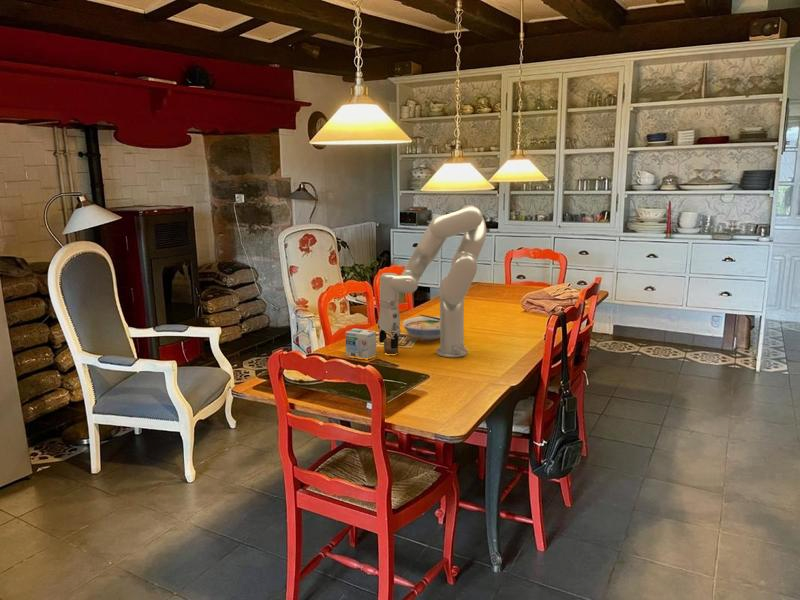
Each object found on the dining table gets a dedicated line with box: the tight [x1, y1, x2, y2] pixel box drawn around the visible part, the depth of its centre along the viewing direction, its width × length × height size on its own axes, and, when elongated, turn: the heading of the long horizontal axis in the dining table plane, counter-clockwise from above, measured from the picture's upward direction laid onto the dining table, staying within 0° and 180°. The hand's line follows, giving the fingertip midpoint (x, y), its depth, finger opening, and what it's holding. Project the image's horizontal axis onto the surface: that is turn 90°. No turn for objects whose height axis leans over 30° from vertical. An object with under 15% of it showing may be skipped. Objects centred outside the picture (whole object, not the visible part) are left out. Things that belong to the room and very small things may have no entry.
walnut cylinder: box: [383, 337, 399, 354], centre depth 240 cm, size 6×6×6 cm
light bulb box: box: [344, 327, 377, 358], centre depth 236 cm, size 11×7×11 cm, turn 62°
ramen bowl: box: [402, 314, 440, 341], centre depth 261 cm, size 25×23×8 cm
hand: (388, 345), depth 240 cm, fingers open, 9 cm apart
